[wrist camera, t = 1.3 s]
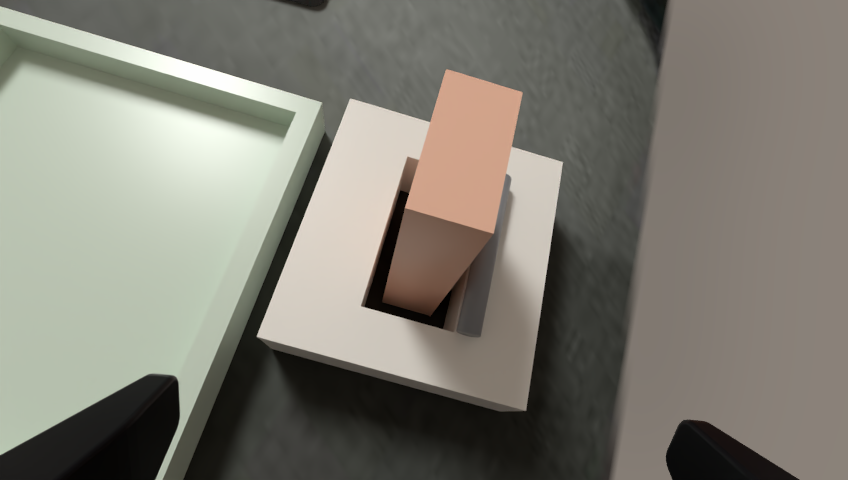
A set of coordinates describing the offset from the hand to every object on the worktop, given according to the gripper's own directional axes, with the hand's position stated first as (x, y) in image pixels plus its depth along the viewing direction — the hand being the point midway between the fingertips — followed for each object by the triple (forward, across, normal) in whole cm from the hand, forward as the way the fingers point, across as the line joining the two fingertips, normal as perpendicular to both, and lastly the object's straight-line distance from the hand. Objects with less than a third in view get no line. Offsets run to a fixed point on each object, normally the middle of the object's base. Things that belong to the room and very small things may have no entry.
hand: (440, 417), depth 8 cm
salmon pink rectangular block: (+15, -1, +4) cm, 15 cm away
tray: (+14, +15, +5) cm, 21 cm away
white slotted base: (+15, -1, +4) cm, 15 cm away
